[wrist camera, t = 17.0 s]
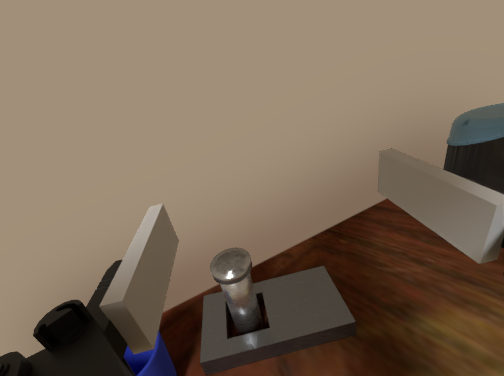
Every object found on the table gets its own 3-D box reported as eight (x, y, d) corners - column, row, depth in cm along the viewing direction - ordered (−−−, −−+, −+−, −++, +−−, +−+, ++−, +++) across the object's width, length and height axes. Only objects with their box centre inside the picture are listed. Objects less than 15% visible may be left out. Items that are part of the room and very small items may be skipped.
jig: (324, 277, 44) (323, 265, 43) (355, 334, 34) (355, 321, 33) (208, 307, 43) (203, 296, 42) (206, 375, 33) (200, 363, 32)
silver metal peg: (263, 307, 41) (247, 244, 35) (270, 338, 36) (253, 271, 30) (232, 315, 41) (210, 253, 35) (234, 348, 36) (209, 282, 30)
